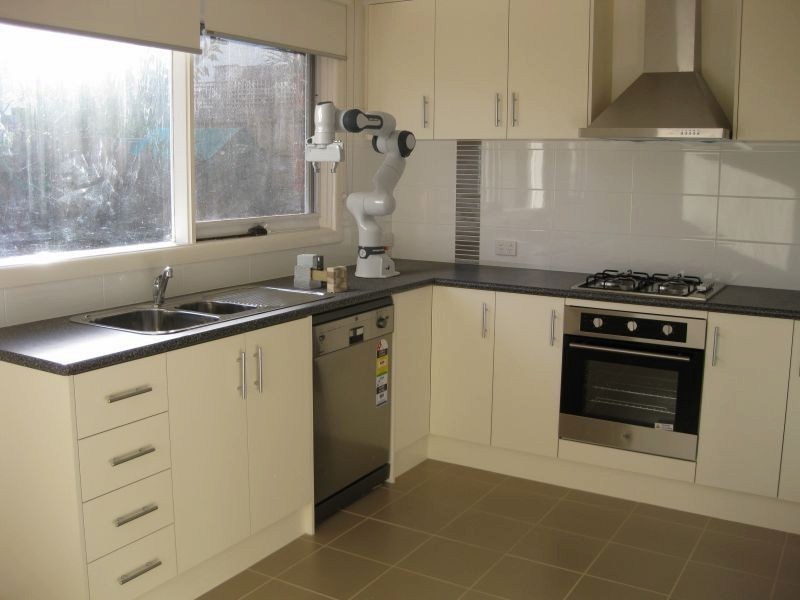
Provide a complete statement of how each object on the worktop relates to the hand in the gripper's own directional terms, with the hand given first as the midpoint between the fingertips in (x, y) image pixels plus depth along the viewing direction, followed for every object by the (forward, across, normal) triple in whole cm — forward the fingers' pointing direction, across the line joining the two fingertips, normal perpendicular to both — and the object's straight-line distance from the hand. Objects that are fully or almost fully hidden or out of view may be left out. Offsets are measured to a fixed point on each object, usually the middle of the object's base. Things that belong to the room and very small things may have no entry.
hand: (325, 172), depth 373 cm
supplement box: (+48, +6, +5) cm, 49 cm away
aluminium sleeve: (+48, -2, +14) cm, 50 cm away
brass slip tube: (+44, -8, +14) cm, 47 cm away
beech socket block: (+48, -19, +14) cm, 54 cm away
